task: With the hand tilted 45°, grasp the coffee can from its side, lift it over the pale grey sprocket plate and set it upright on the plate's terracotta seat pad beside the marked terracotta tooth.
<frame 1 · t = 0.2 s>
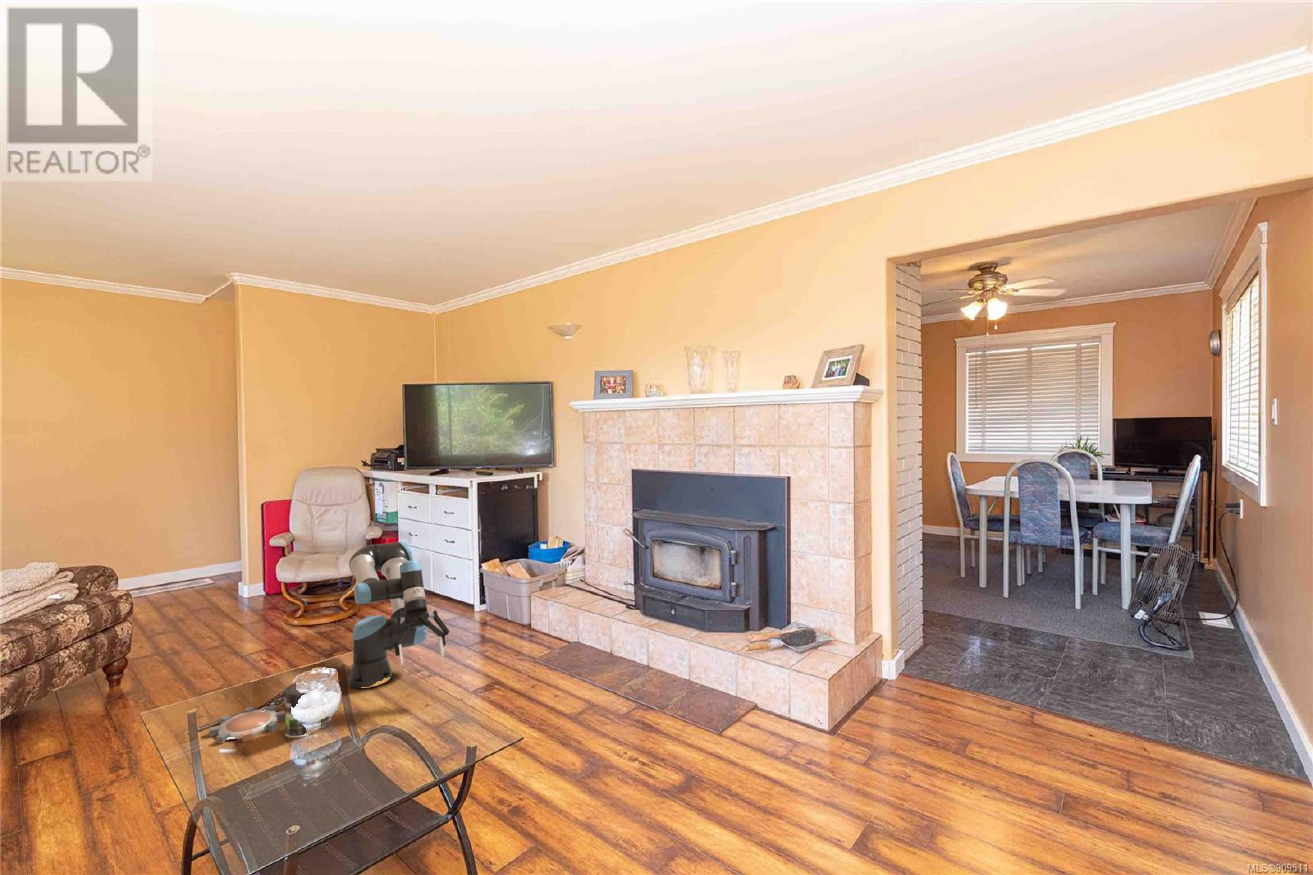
hand: (422, 660, 209), 15 cm above the table, tool tilted 35°, fingers open, 13 cm apart
coffee can: (303, 730, 191), on the table
sprocket plate: (248, 726, 193), on the table
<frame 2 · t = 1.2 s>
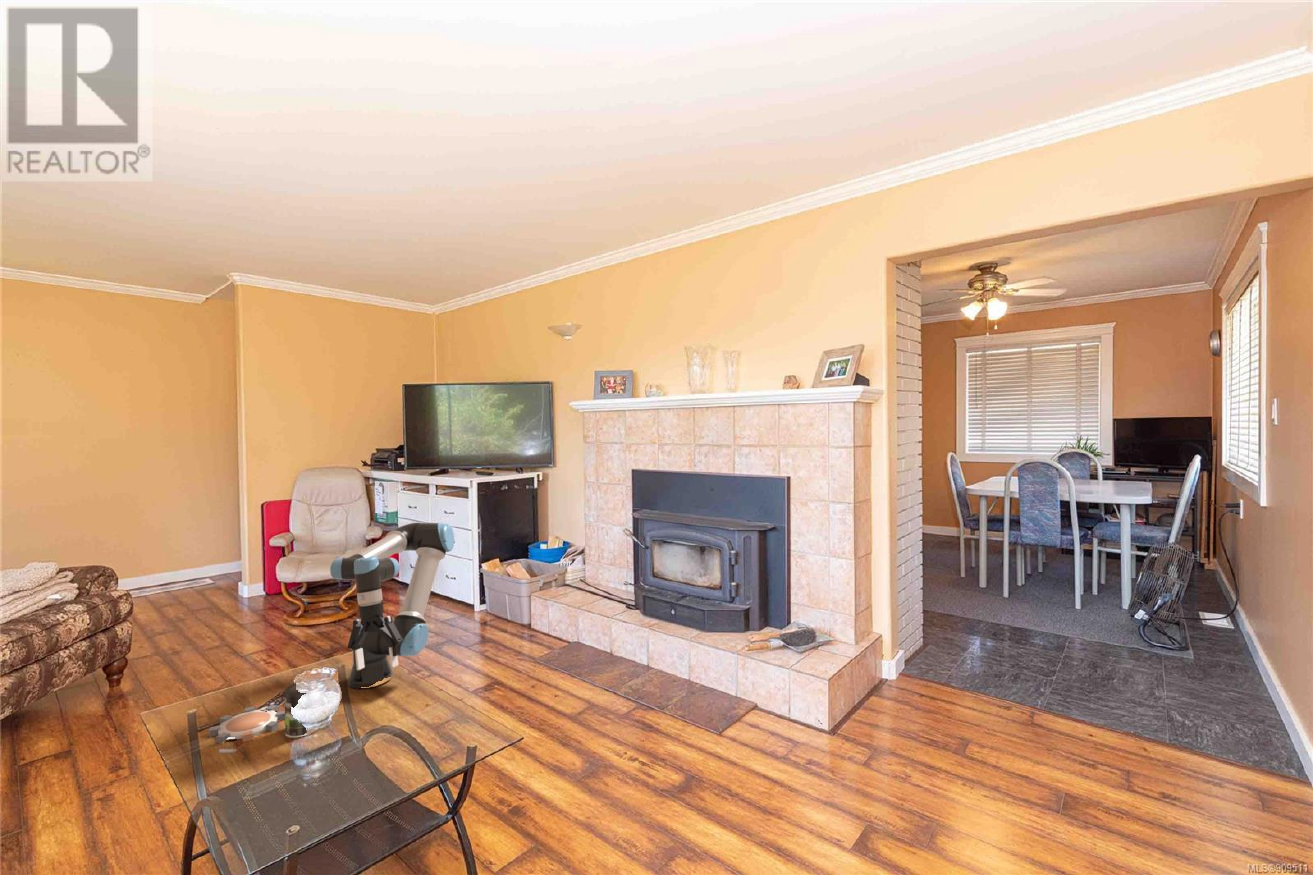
hand: (377, 667, 198), 17 cm above the table, tool pointing down, fingers open, 13 cm apart
nothing on the table moved.
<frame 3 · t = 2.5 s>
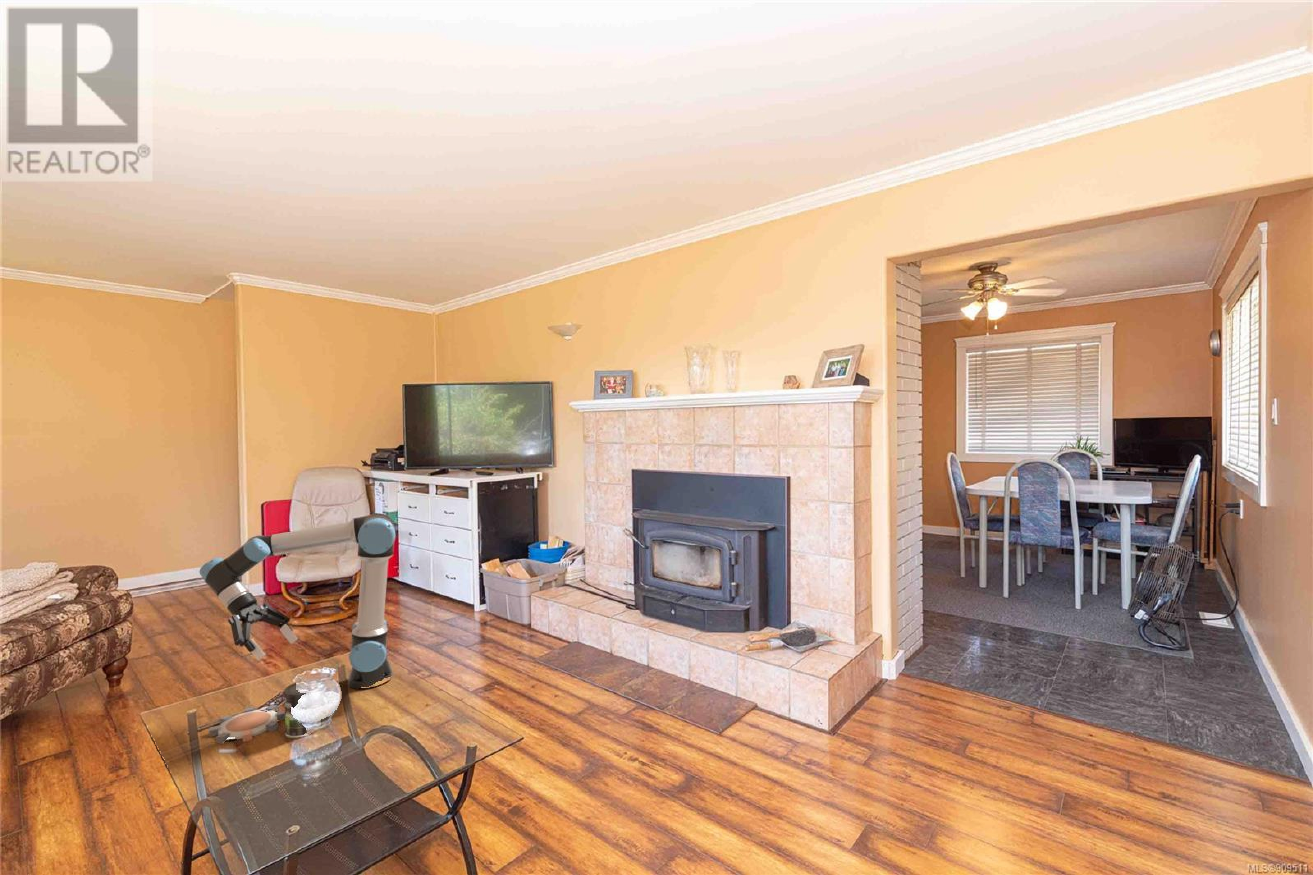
hand: (279, 649, 192), 26 cm above the table, tool tilted 45°, fingers open, 13 cm apart
nothing on the table moved.
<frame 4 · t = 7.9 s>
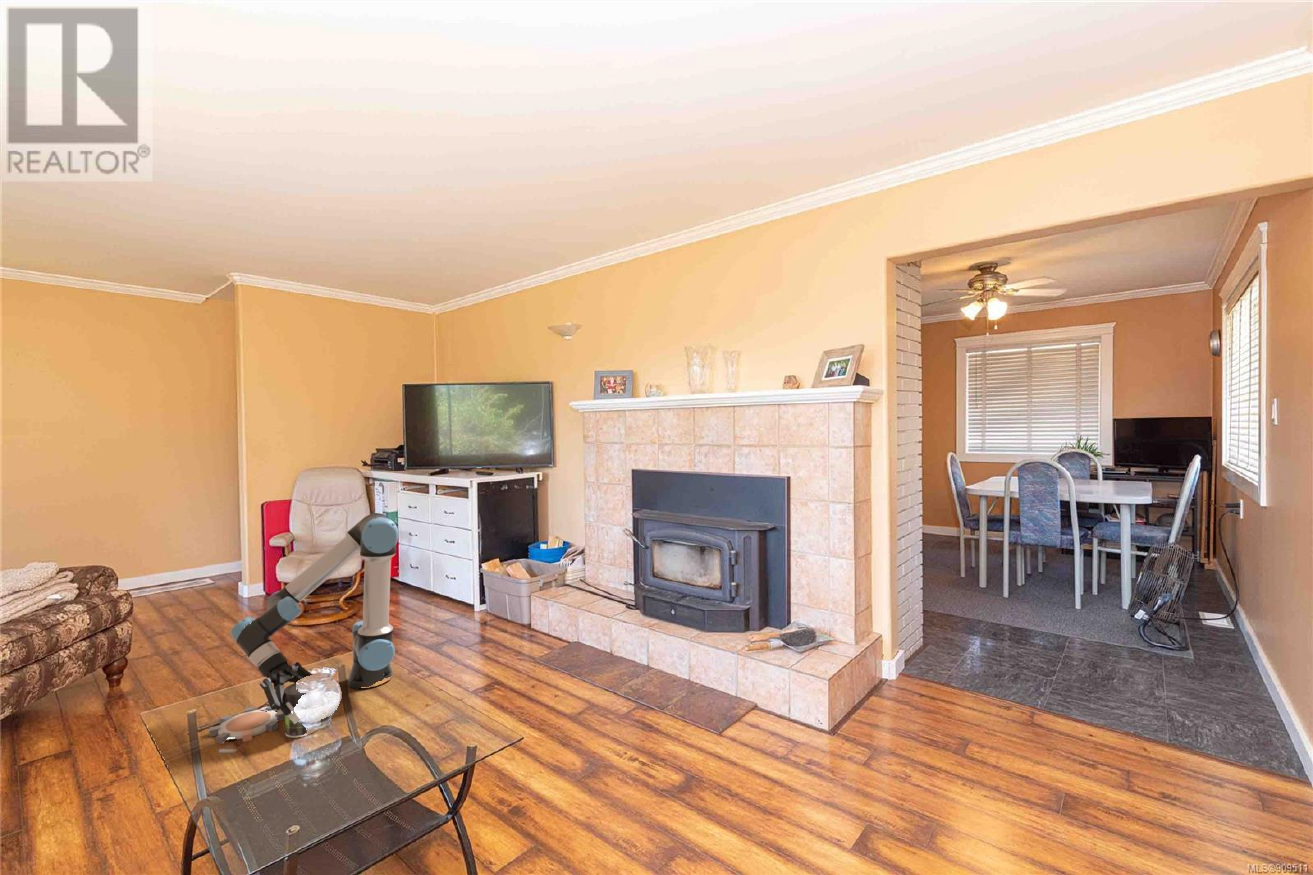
hand: (311, 712, 190), 6 cm above the table, tool tilted 45°, fingers closed on coffee can, 10 cm apart
coffee can: (303, 730, 191), on the table, touching gripper
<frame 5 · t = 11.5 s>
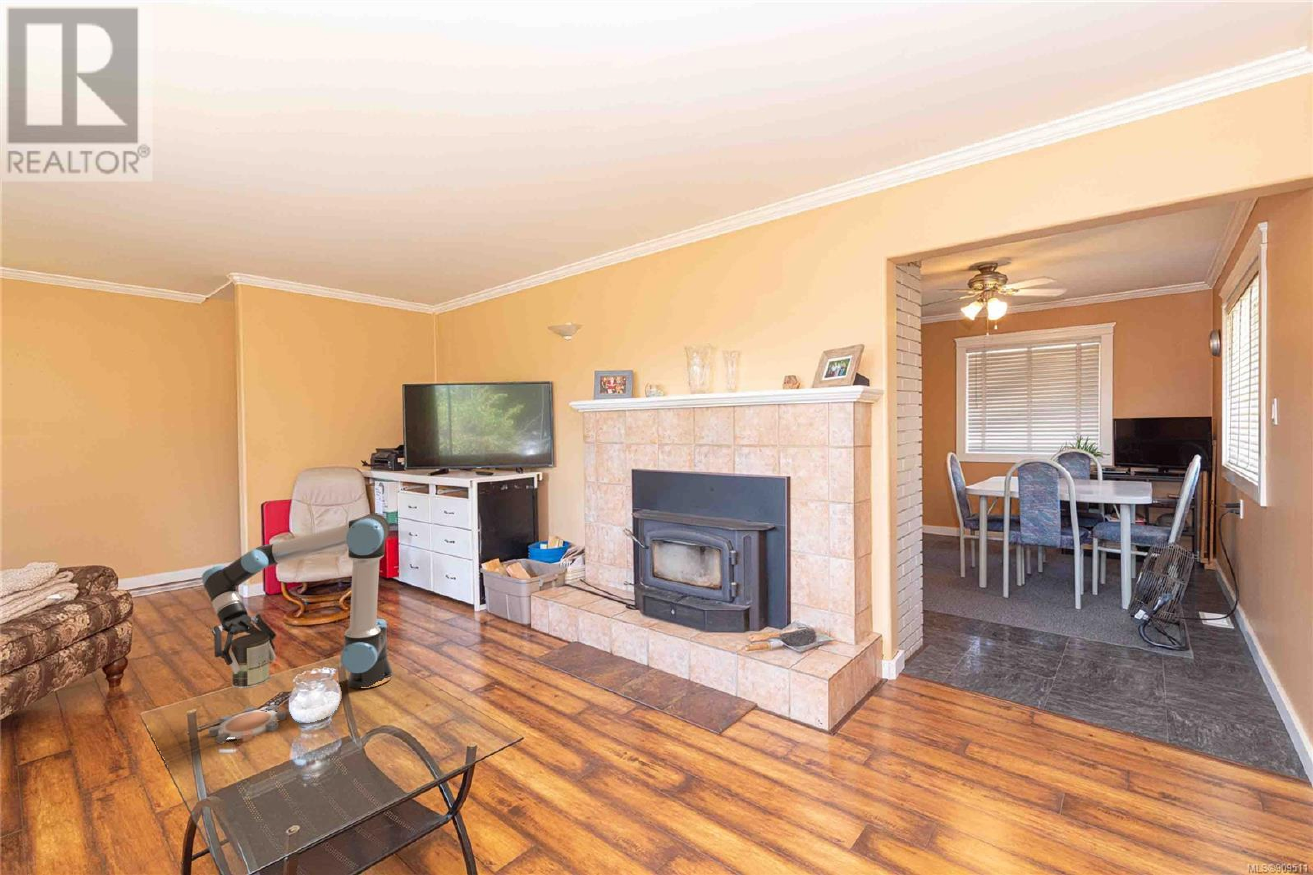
hand: (256, 665, 190), 21 cm above the table, tool tilted 45°, fingers closed on coffee can, 10 cm apart
coffee can: (251, 682, 192), point 15 cm above the table, touching gripper
when the fingers open (9 cm above the table, at t = 15.5 s): coffee can drops 1 cm, resting on sprocket plate.
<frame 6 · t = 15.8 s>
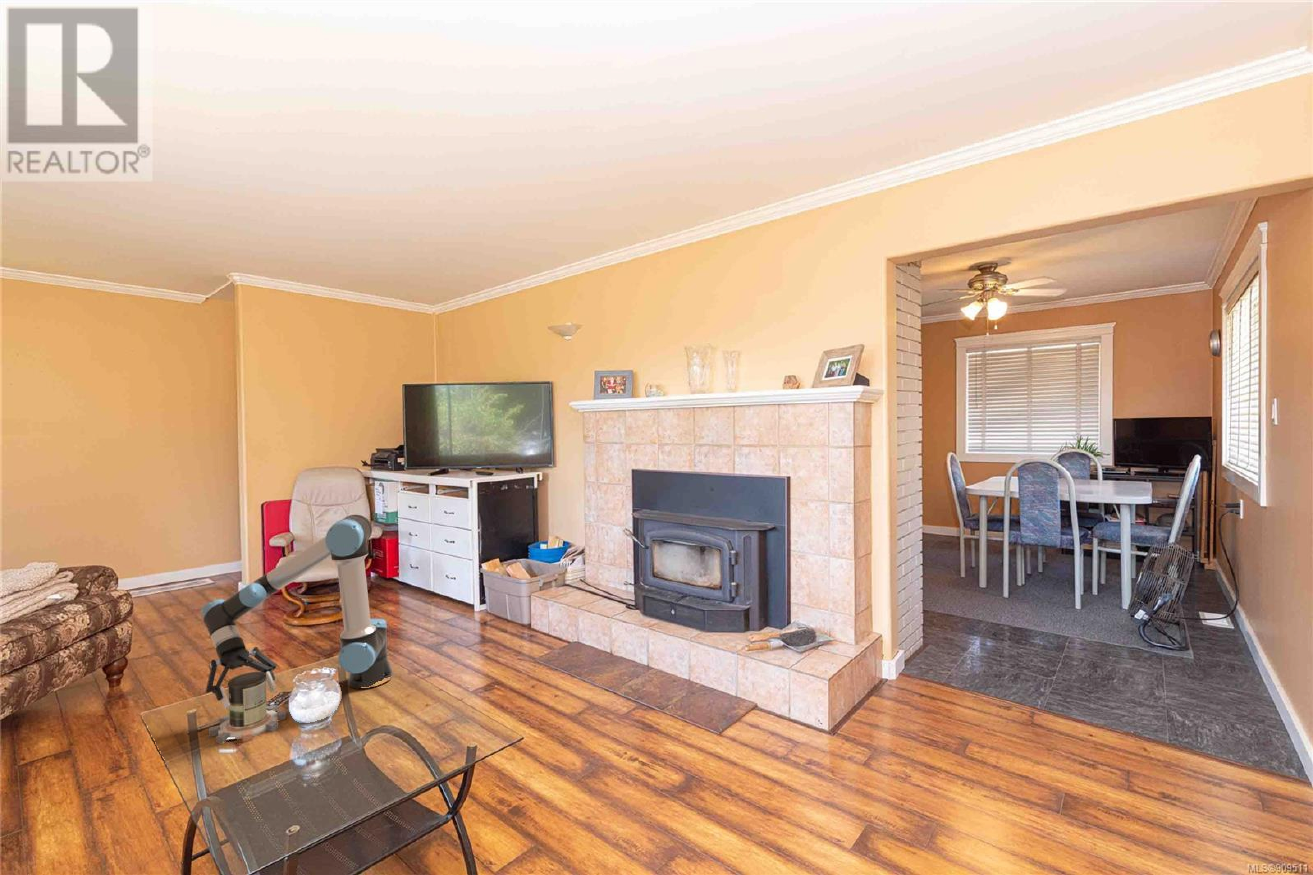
hand: (251, 698, 192), 10 cm above the table, tool tilted 45°, fingers open, 13 cm apart
coffee can: (248, 721, 193), point 2 cm above the table, touching sprocket plate
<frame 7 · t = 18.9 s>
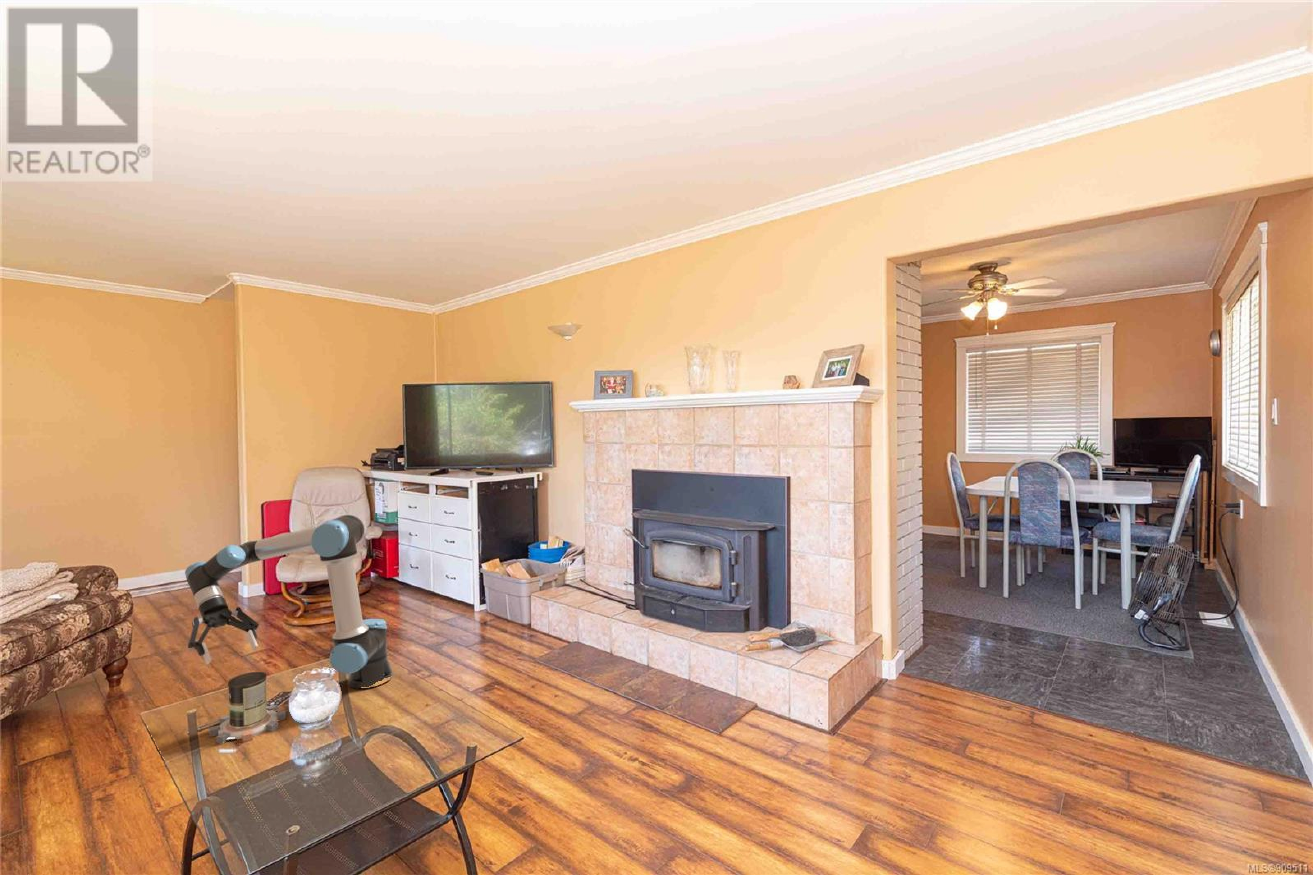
hand: (233, 655, 197), 21 cm above the table, tool tilted 45°, fingers open, 13 cm apart
nothing on the table moved.
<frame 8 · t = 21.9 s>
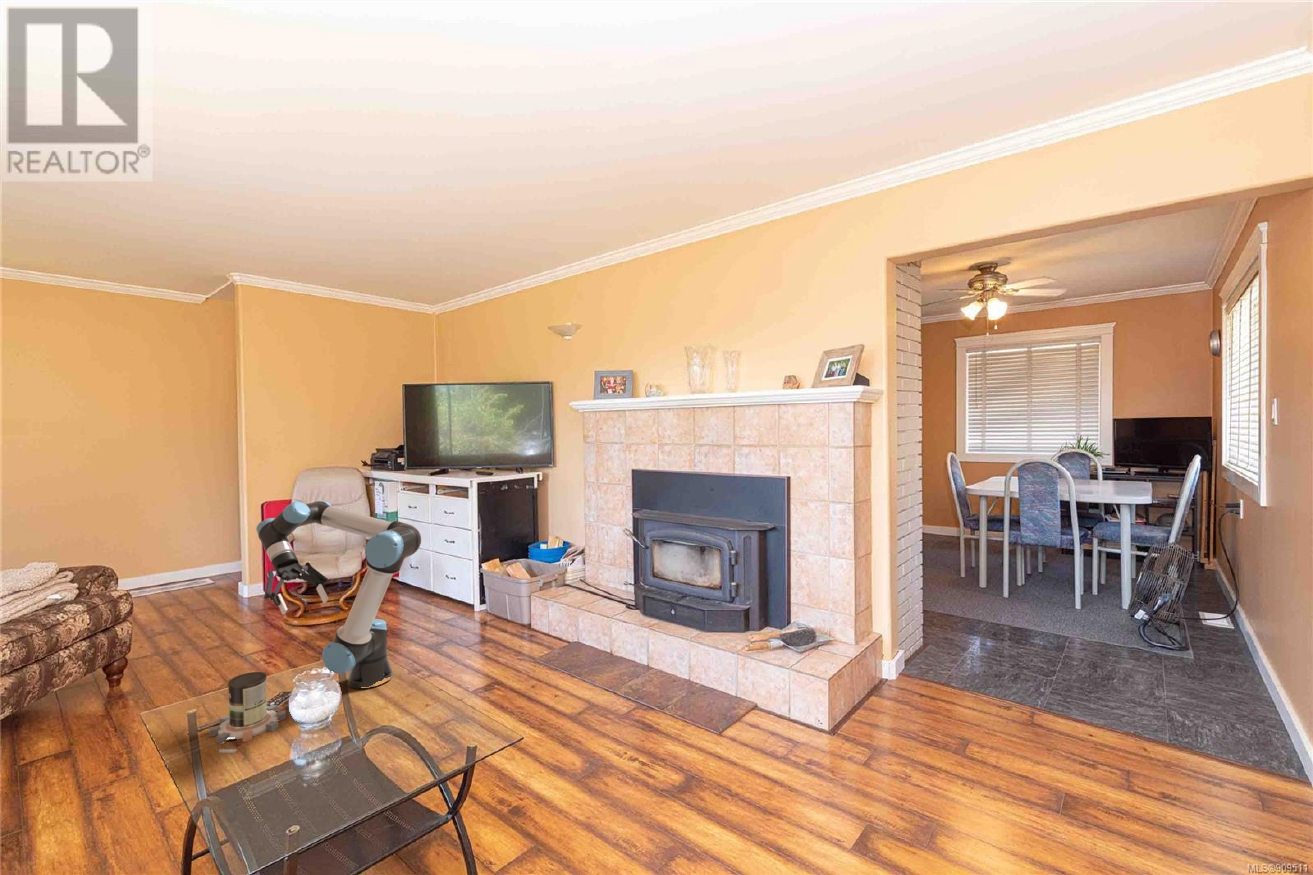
hand: (306, 606, 203), 36 cm above the table, tool tilted 45°, fingers open, 13 cm apart
nothing on the table moved.
at the end: coffee can inside the target area on the sprocket plate (0.0 cm from its centre), point 1.5 cm above the sprocket plate's base; coffee can tilted 0°; the gripper is holding nothing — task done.
